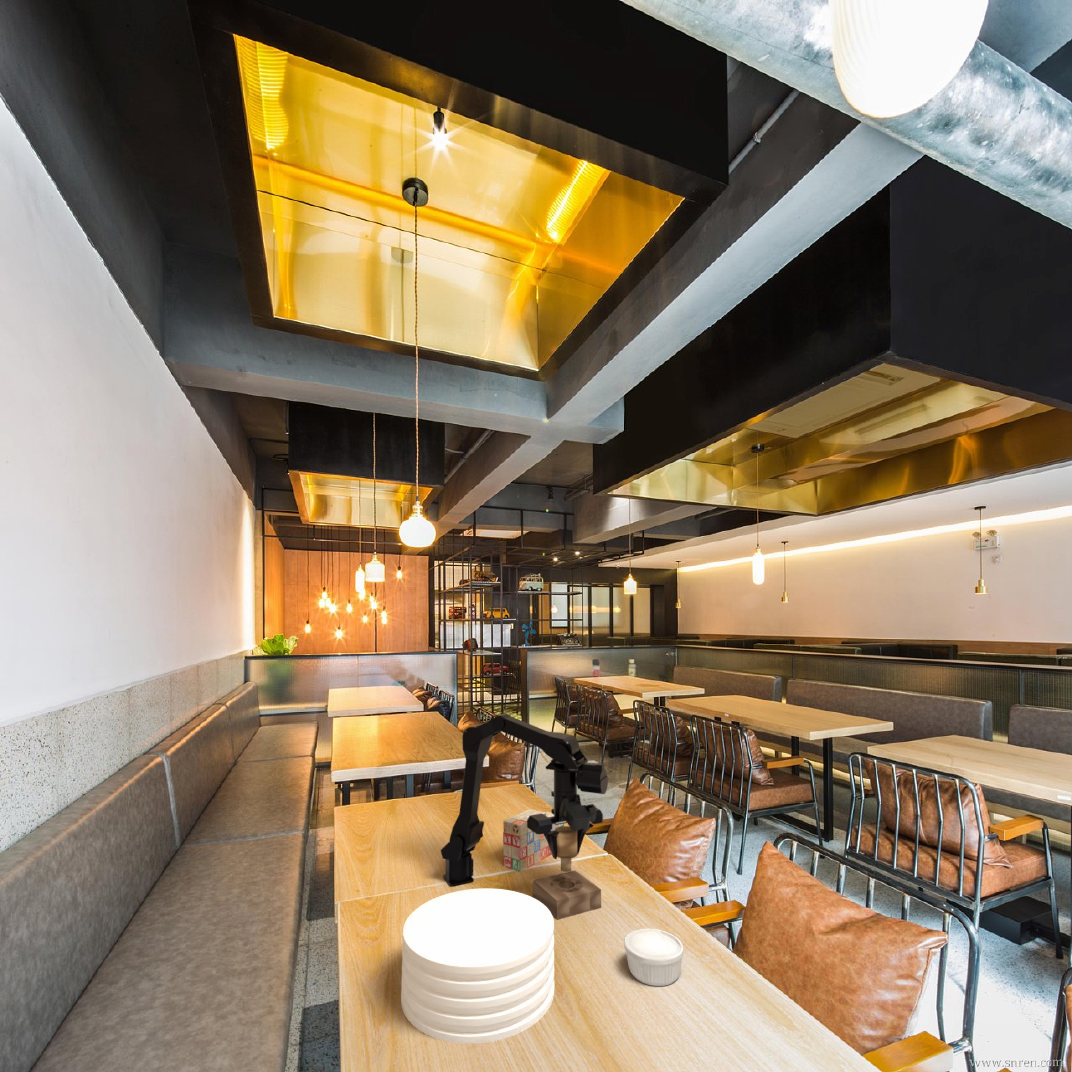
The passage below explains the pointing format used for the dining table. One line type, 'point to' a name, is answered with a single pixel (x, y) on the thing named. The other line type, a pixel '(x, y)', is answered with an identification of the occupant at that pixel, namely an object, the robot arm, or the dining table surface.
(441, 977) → the plate stack
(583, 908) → the board
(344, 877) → the dining table surface
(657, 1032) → the dining table surface
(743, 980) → the dining table surface
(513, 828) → the stack of blocks
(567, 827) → the peg
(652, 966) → the ramekin
